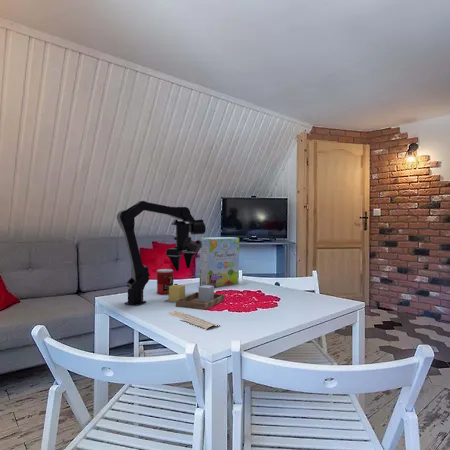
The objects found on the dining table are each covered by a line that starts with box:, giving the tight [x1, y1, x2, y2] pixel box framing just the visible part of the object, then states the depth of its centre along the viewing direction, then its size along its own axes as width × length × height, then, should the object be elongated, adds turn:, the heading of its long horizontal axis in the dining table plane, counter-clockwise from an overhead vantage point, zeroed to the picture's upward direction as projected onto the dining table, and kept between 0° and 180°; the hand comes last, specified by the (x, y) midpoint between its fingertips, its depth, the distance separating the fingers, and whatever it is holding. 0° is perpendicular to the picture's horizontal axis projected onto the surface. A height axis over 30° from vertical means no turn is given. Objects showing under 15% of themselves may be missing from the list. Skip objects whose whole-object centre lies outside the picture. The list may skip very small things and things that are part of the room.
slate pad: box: [163, 298, 176, 304], centre depth 151 cm, size 8×8×1 cm
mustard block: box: [168, 284, 186, 301], centre depth 151 cm, size 5×5×6 cm
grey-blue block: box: [197, 285, 215, 302], centre depth 151 cm, size 5×5×6 cm
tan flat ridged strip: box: [167, 310, 221, 331], centre depth 124 cm, size 24×7×2 cm, turn 42°
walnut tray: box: [175, 291, 226, 311], centre depth 147 cm, size 18×14×3 cm
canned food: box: [156, 268, 174, 295], centre depth 169 cm, size 8×8×11 cm
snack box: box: [199, 236, 240, 288], centre depth 189 cm, size 22×9×26 cm, turn 132°
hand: (183, 269), depth 158 cm, fingers open, 9 cm apart
